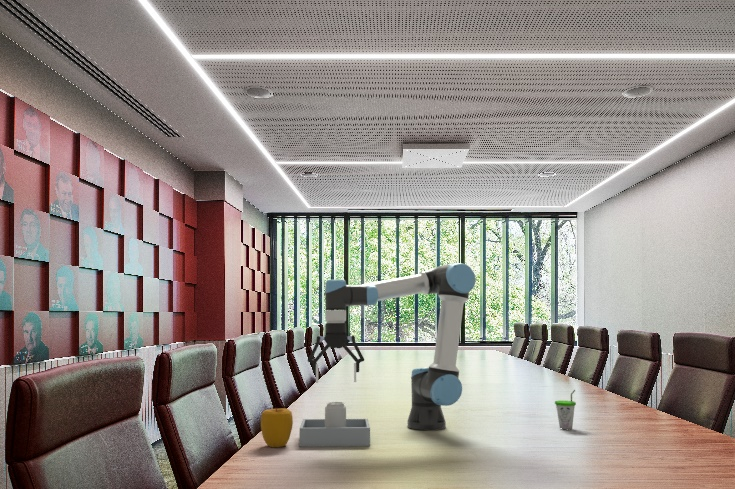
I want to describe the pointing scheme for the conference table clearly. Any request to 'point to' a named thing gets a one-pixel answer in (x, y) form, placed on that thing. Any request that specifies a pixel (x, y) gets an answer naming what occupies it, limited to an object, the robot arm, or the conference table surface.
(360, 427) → the walled box
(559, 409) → the cup
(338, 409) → the can
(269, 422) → the apple
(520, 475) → the conference table surface
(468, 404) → the conference table surface
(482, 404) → the conference table surface
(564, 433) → the conference table surface
